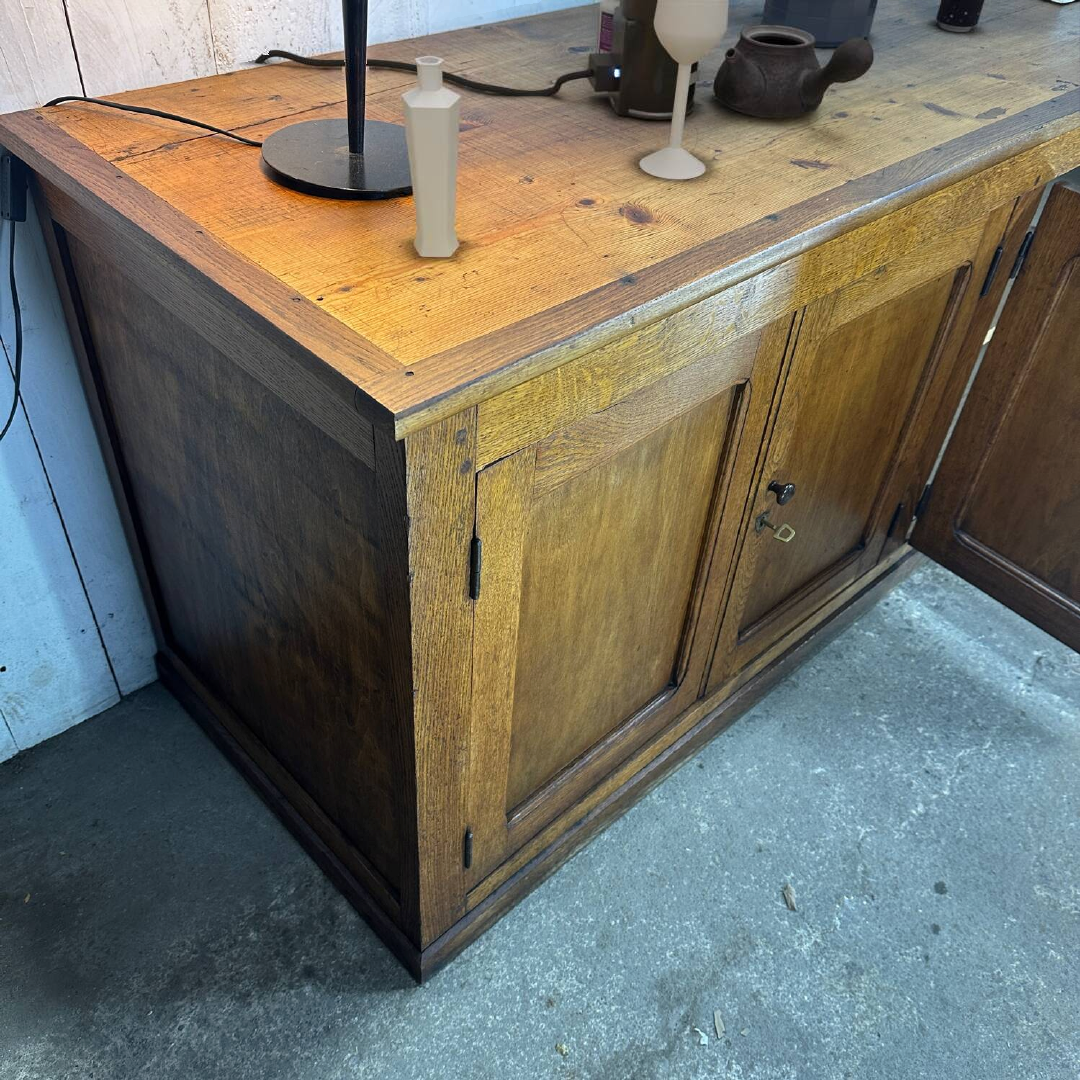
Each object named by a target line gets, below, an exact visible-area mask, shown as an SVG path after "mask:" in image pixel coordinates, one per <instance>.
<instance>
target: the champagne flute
mask: <svg viewBox="0 0 1080 1080" xmlns="http://www.w3.org/2000/svg"><path fill="white" fill-rule="evenodd" d="M729 3H730V0H658V2H657V7H656V12H655V18H654V28H655V31H656V34H657V36H658V38H659V40H660V42H661V44H662V45H663V46H664V48H665V49H666V50H667V52H668V53H669V54H670V56H671V57H672V58H673V59H674V60H675V61H677V62H678V63H679V69H678V77H677V85H676V93H675V101H674V109H673V118H672V119H671V125H670V126H671V127H670V133H669V134H670V135H669V142H668V146H666V147H664V148H662V149H660V150H657V151H655V152H653V153H651V154H649V155H646V156H645V157H642V158H641V160H640V161H639V163H638V165H639V167H640V169H641V170H642V171H644V172H645V173H647V174H649V175H651V176H654V177H658V178H661V179H668V180H688V179H689V180H690V179H693V178H697V177H700V176H702V175H703V174H704V173H705V172H706V166H705V164H704V163H703V162H702V161H700V160H699V159H698V158H696V156H693V155H692V154H691V153H690V152H688V151H687V150H686V149H684V148H683V147H682V142H683V133H684V132H683V131H684V126H685V117H686V116H685V111H686V103H687V95H688V88H689V80H690V72H691V65H692V64H693V63H695V62H697V61H699V62H700V61H701V60H702V59H703V58H704V57H705V56H707V54H709V53H710V52H711V51H712V50H713V49H715V48H716V46H717V45H718V44H719V43H720V42H721V41H722V39H723V37H724V36H725V34H726V31H727V28H728V19H729V6H730V5H729Z"/></svg>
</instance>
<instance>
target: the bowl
mask: <svg viewBox="0 0 1080 1080" xmlns="http://www.w3.org/2000/svg"><path fill="white" fill-rule="evenodd" d="M878 1H879V0H764V5H763V12H762V17H761V23H760V25H769V26H786V27H791V28H796V29H799V30H803V31H806V32H808V33H810V34H811V35H812V36H814V38H815V40H816V41H815V44H814V48H815V47H817V48H838V47H839V46H840V45H842V44H843V43H845V42H846V41H848V40H850V39H853V38H863V39H865V38H866V37H868V36H870V34H871V30H872V26H873V21H874V17H875V13H876V10H877V5H878Z"/></svg>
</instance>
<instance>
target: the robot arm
mask: <svg viewBox="0 0 1080 1080" xmlns="http://www.w3.org/2000/svg"><path fill="white" fill-rule="evenodd" d="M657 2H658V0H620V4H619V6H617V7H615V8H614V16H613V28H612V41H611V53H596V52H595V53H589V54H588V66H587V69H585V70H579V71H573V72H569V73H565V74H563V75H562V76H560V77H558V78H557V79H556V80H555V83H554V85H553V86H552V87H548V88H544V89H537V90H526V89H525V90H524V89H523V90H522V89H516V88H510V87H505V86H500V85H494V84H488V83H482V82H476V81H473V80H471V79H467V78H464V77H461V76H458V75H457V74H453V73H450V72H447V71H444V70H442V80H447V81H450V82H453V83H455V84H458V85H461V86H464V87H466V88H469V89H473V90H476V91H482V92H487V93H492V94H493V93H494V94H499V95H503V96H504V95H505V96H509V97H510V96H511V97H548V96H549V97H550V96H553V95H555V94H557V93H558V92H559V91H561V90H560V89H561V88H562V85H564V84H566V83H568V82H570V81H575V80H580V79H587V81H588V83H589V84H590V87H591V88H592V89H593V91H594V92H595V93H606V98H607V100H608V102H609V104H610V106H611V107H612V108H613V110H614V111H615V113H616V115H617V116H627V117H628V116H629V117H634V118H638V119H644V120H657V121H659V120H660V121H662V120H663V121H664V120H672V118H673V109H674V101H675V93H676V85H677V77H678V69H679V63H678V62H677V61H675V60H674V59H673V58H672V57H671V56H670V54H669V53H668V52H667V50H666V49H665V48H664V46H663V45H662V44H661V42H660V40H659V38H658V36H657V34H656V31H655V28H654V18H655V12H656V7H657ZM268 51H269V50H268ZM268 54H269V55H263V53H261V54H260V55H259V56H258V57H257V58H256V60H255V61H254V64H263V63H264V62H266V61H267V60H268V59H272V58H282V59H286V60H289V61H292V62H295V63H298V64H302V65H305V66H310V67H320V68H322V67H323V68H341V67H342V68H344V67H345V62H344V60H345V59H320V58H319V59H318V58H317V59H316V58H309V57H305V56H302V55H299V54H295V53H292V52H289V51H285V50H281V49H270V51H269V53H268ZM366 59H367V64H366V66H365V67H377V68H387V69H396V70H397V69H398V70H403V71H409V72H414V73H417V64H413V63H408V62H402V61H395V60H387V59H375V58H370V59H369V58H366ZM699 62H700V60H699V61H697V62H695V63H693V64H692V65H691V72H690V80H689V88H688V95H687V103H686V111H685V117H686V116H688V115H690V114H691V113H692V112H693V110H694V107H695V106H694V105H695V95H696V87H697V86H696V84H697V82H699V81H700V77H701V76H700V75H701V69H699Z"/></svg>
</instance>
